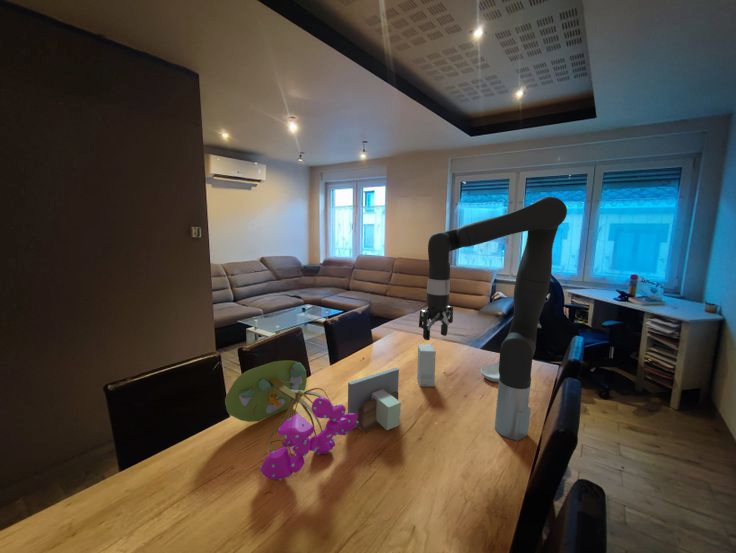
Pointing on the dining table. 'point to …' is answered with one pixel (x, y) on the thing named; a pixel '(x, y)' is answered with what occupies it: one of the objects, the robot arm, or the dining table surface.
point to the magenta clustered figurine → (287, 413)
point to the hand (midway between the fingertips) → (435, 337)
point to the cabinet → (387, 409)
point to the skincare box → (426, 365)
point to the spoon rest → (491, 372)
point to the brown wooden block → (370, 415)
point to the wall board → (370, 388)
